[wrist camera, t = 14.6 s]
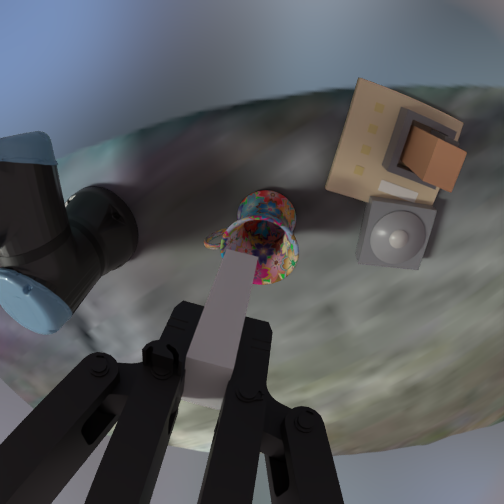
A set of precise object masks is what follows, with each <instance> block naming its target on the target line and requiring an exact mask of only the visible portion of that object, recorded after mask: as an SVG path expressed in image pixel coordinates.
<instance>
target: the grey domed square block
mask: <svg viewBox="0 0 504 504" xmlns="http://www.w3.org/2000/svg"><path fill="white" fill-rule="evenodd" d="M436 212H437V210H436V209H435V208H434V207H433V206H432V205H426V204H420V203H413V202H408V201H402V200H396V199H389V198H383V197H376V196H370V198H369V203H368V202H366V207H365V212H364V217H363V221H362V226H361V231H360V235H359V240H358V244H357V249H356V253H355V254H356V257H357V261H358V264H365V265H374V266H384V267H393V268H403V269H413V270H419V267H420V264H421V261H422V258H423V255H424V252H425V249H426V246H427V243H428V239H429V236H430V233H431V230H432V226H433V223H434V219H435V216H436Z"/></svg>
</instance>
